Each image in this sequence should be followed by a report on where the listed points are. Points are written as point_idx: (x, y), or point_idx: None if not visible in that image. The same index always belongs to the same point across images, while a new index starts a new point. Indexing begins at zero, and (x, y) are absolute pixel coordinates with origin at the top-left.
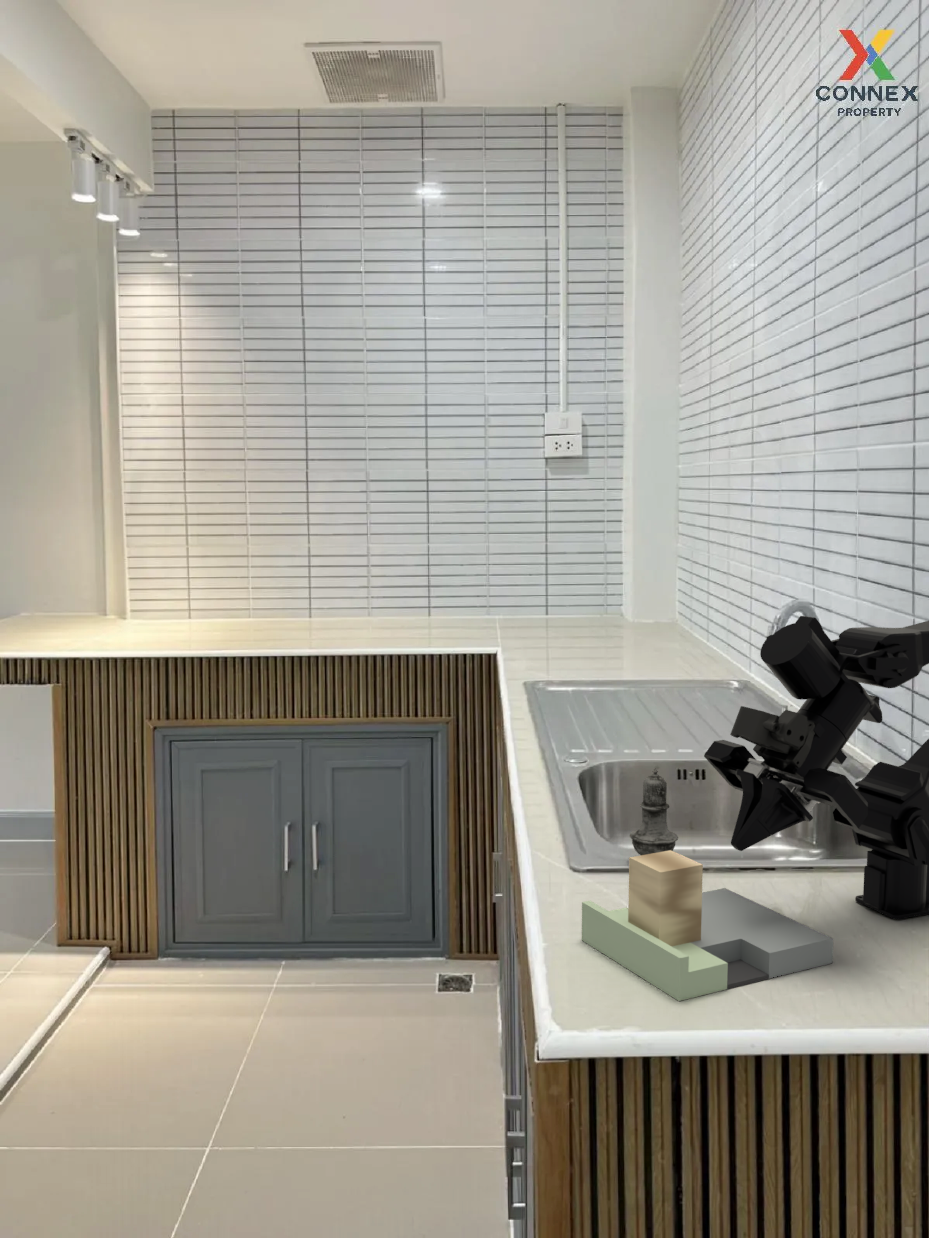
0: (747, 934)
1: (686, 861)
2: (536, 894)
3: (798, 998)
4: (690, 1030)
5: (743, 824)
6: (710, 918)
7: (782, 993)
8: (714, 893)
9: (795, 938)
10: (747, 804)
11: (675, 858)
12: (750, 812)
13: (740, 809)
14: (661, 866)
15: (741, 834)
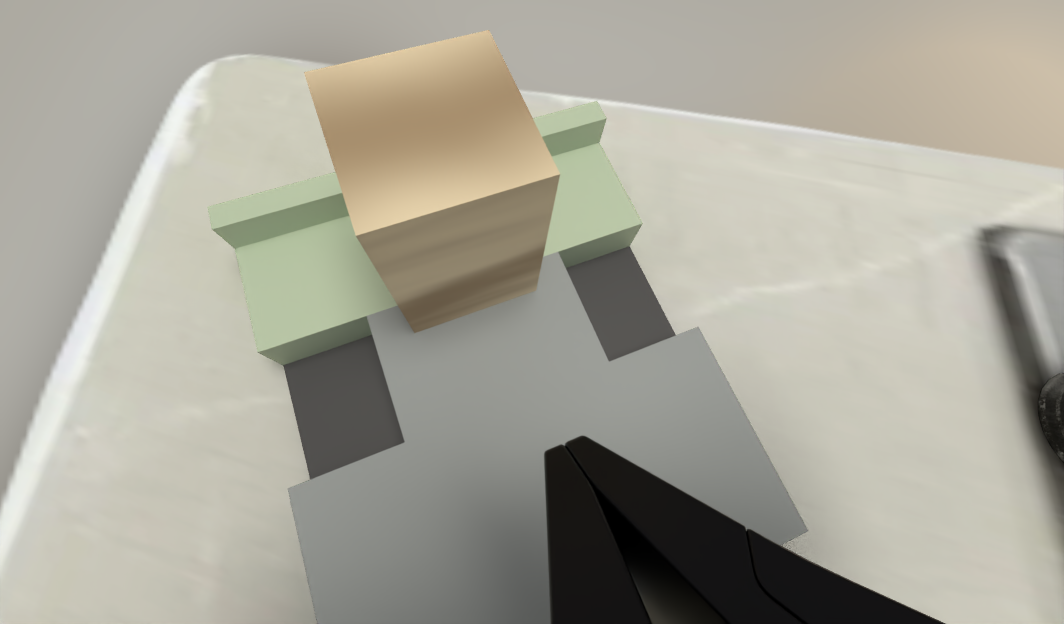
0: (429, 470)
1: (408, 188)
2: (823, 135)
3: (191, 521)
4: (134, 241)
5: (625, 523)
6: (559, 404)
7: (230, 490)
8: (755, 480)
9: (372, 617)
10: (769, 617)
11: (452, 161)
12: (702, 618)
13: (763, 543)
14: (367, 92)
15: (563, 488)
